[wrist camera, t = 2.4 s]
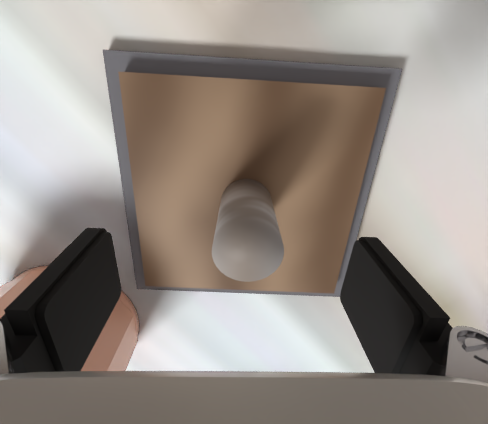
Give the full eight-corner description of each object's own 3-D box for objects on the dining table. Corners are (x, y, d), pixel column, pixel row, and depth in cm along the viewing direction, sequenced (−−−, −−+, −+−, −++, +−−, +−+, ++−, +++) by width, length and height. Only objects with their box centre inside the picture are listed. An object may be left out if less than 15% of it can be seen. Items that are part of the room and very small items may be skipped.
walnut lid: (379, 88, 15) (465, 88, 9) (330, 286, 21) (365, 363, 15) (124, 72, 15) (46, 63, 9) (149, 279, 20) (112, 355, 15)
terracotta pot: (131, 267, 21) (82, 347, 14) (145, 363, 25) (113, 455, 19) (-16, 261, 20) (-132, 340, 14) (26, 359, 25) (-47, 451, 19)
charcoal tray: (396, 69, 15) (402, 68, 15) (338, 291, 22) (341, 296, 21) (107, 51, 15) (102, 49, 14) (139, 283, 21) (137, 288, 21)
